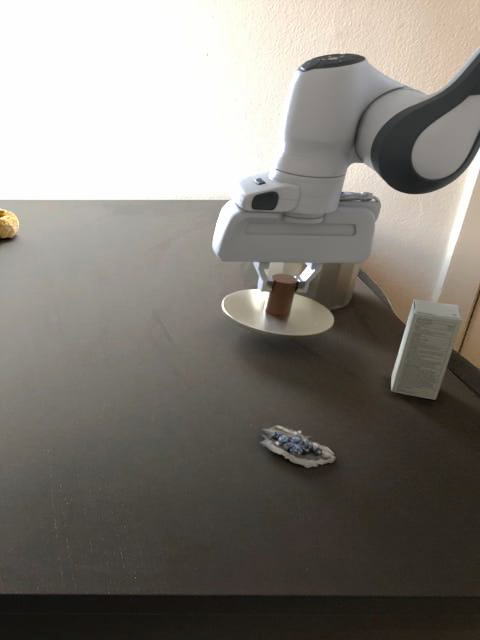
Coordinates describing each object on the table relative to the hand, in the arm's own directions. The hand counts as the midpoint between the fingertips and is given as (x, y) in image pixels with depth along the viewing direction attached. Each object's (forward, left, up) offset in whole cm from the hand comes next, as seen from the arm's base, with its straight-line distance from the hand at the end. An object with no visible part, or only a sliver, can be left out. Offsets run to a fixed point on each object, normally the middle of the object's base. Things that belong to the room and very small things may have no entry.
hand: (281, 290), depth 101 cm
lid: (0, 0, -4) cm, 4 cm away
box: (-13, +14, -7) cm, 20 cm away
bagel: (+40, -41, -7) cm, 58 cm away
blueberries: (+6, +27, -7) cm, 29 cm away
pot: (-10, -15, -7) cm, 19 cm away
